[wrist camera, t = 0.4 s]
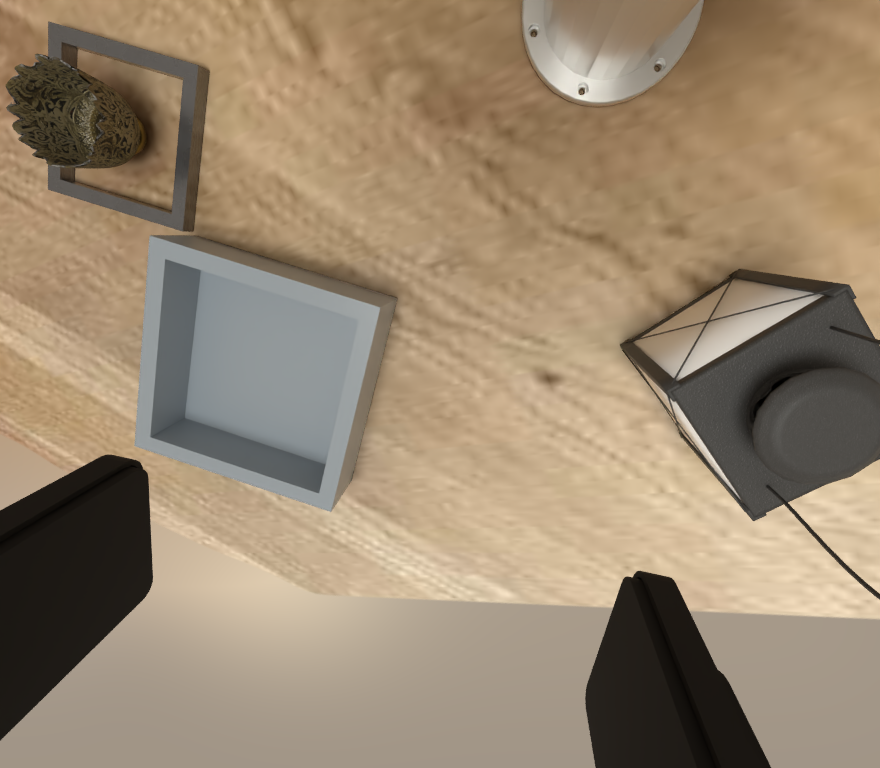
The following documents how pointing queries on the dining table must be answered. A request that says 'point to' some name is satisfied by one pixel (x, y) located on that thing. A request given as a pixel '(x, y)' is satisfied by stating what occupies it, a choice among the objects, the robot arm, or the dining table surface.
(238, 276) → the bin
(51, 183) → the square metal frame
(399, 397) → the dining table surface
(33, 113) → the dark bronze rounded piece
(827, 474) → the lantern
